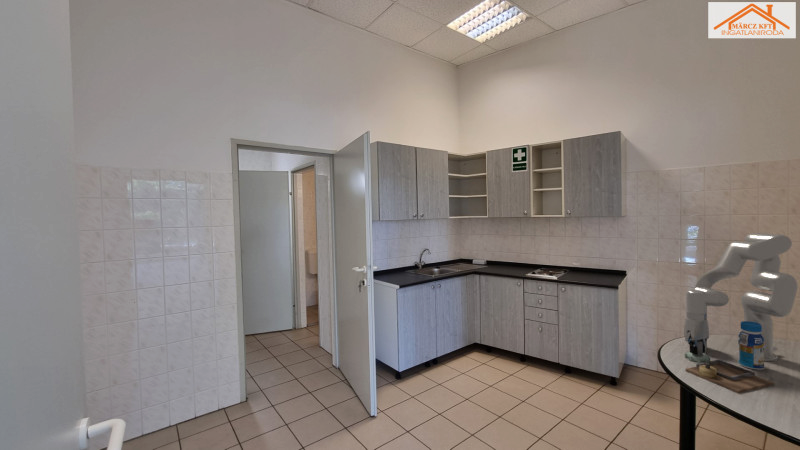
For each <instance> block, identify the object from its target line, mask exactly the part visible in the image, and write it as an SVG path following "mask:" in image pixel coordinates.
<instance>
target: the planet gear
mask: <svg viewBox="0 0 800 450" xmlns="http://www.w3.org/2000/svg"><path fill="white" fill-rule="evenodd" d="M692 342H693V343H694V341H693V340H692ZM696 346H697V351H698V354H697V355H696V354H693V353H690V350H687V351H686V352H685V353H684V358H685V359H688V360H689V361H691V362H696V363H697V364H698V363H703V362H708V361H711V356H710V355H707V354H706V353H703V342H702V341H701V340H697V344H696Z"/></svg>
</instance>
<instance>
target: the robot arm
mask: <svg viewBox="0 0 800 450" xmlns="http://www.w3.org/2000/svg"><path fill="white" fill-rule="evenodd" d="M792 246H793V241H792V239H791V238H790V237H789V236H787V235H785V234H779V233H767V232H766V233H763V232H753V233H748V234H747V235H745V238H744V241H741V240H740V241H739V240H737V241H735V240H734V241H732V242H730V243H728V245H727V246H726V248H725V251H724V252H723V254H722V255H721V258H720V259H719V260H718V263H717V264H716V266H715V267H714V268H712V269H711V270H709V271H707V272H705V273H704V274H703V275H702V276H700V277H699V278H698V279H697V281H696V283H695V285H694V287H693V288H692V289H688V290H686V294H685V295H686V299H685V300H686V318H685V320H684V327H683V337H684V341H685V342H686V343H688V345H689V352H690V353H693V354H696V355H697V354H698V351H697V346H696V344H697V340H701V341H702V342H703V353H704V354H706V352H705V345H706V341H707V342H708V339H709V338H710V335H709V334H710V330H709V329H710V328H709V322H708V307H724V306H725V305H728V303H729V301H730V299H729V296H728V295H727V293H725V292H723V291H721V290H717V289H714V288H712V287H713V286H714V285H715V284H716V283H718V282H720V281H723V280H728V279H730V278H735V277H737V276H739V275H740V273H741V271H742V269H743V268H744V265H745V264H746V262H747V261H752V262H753V261H754V264H753V268H752V272H751V277H750V285H751V286H752V287H754V288H756V289H759V290H763V291H766V292H767V291H768V292H771V294H770V293H766V292H762V291H757V290H749V291H746V292H744V293H743V294H742V295H741V299H740V301H741V305H742V310H743V316H744V320H743V321H749V322H755V323H759V324H761V326H762V331H761V333H760V334H761V335H762V336H763V338H764V342H763V343H764V345H765V348H764V362H776V361H778V359H779V358H778V356H777V355H776V354H775V353H774V352H776V351H778V350H779V349H778V347H777V346H774V335H773V334H774V331H773V330H774V325H773V324H774V323H773V319H772V317H777V318H784V317H787V316H790V314H791V312H792V309H793V307H794V303H795V299H796V295H797V291H798V282H797V279H796V278H795V277H794V275H793V276H792V275H791V274H789V273H785V272H780V270H781V263H782V262H781V257H780V255H783V254H785V253H786V252H788V251H789V250H790V249H791V248H792ZM771 316H772V317H771ZM692 340H693V341H694V343H693V342H692Z"/></svg>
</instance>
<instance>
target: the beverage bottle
mask: <svg viewBox="0 0 800 450" xmlns="http://www.w3.org/2000/svg"><path fill="white" fill-rule="evenodd" d="M740 330H741V331H740V332H739V334H738V341H737V343H738V363H739V365H740V366H741V367H744V368H745V369H749V370H750V369H751V370H756V371H757V370H758V371H759V370H760V371H761V370H764V369H765V361H764V348H765V345H764V343H763V342H764V338H763V336H762V335H761V334H760V333H761V331H762V326H761V324H759V323H755V322H749V321H744V320H742V321H741V322H740Z"/></svg>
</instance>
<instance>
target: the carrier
mask: <svg viewBox="0 0 800 450" xmlns="http://www.w3.org/2000/svg"><path fill="white" fill-rule="evenodd" d="M695 364H696V366H692V367H687V368H685V372H687V373H689V374H692V375H694V376H696V377H698V378H701V379H704V380H706V381H709V382H711V383H713V384H716V385H718V386H720V387H722V388H725V389H727V390H729V391H732V392H735V393H736V394H741V393H745V391H746V392H751V391H755V390H757V389H763V388H766V387H772V386H774V385H775V382H774V381H771V380H768V379H765V378H763V377H759V376H757V375H756V374H755V373H756V372H755V371H751V370H750V369H747V368H745V367H744V368H743V367H742V366H738V365H736V364H732V363H730V362H726V361H725V360H721V359H714V360H713V359H712V360H710V361H708V362H703V363H698V362H697V363H695Z"/></svg>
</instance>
